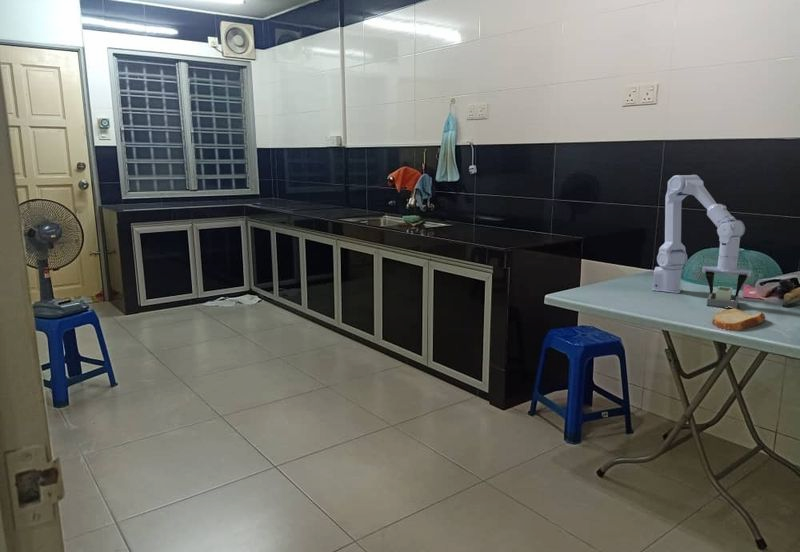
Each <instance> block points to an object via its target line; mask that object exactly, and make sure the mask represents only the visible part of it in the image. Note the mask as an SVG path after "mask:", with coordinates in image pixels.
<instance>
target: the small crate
mask: <svg viewBox="0 0 800 552" xmlns="http://www.w3.org/2000/svg"><path fill="white" fill-rule="evenodd" d="M715 293H716V298H715V299H717V300H726V301H731V296H732V295H733V287H729V286H717V288H716V290H715Z"/></svg>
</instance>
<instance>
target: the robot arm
mask: <svg viewBox="0 0 800 552" xmlns="http://www.w3.org/2000/svg"><path fill="white" fill-rule="evenodd" d="M665 193H666V194H665V199H664V200H665V203H664V205H665V206H664V207H665V208H664V215H665V216H664V218H665V219H664V243H663V244H662V245H661V246H660V247H659V249H658V254H657V256H656V262H657V264H658V266H655V267H654V270H653V278H652V288H651V290H652V291H656V292H657V291H658V292H664V293H674V294H680V293H681V291H682V287H681V281H682V280H681V278H682V269H683V268H684V265H686V264H687V262H688V254H687V252H686V246H685V245H684V244H683V242H682V203H683V202H682V201H683V200H684V199H685V198H686V197H688V196H689V195H691V196H694V197H695V199H696V200H698V202H699V203H700V204H702V206H703V207H704V208H705V209H706V210H707V211H706V216H707V217H708V218H709V219H710V220H711V222H712V223H713V224H714V225H715V227H716V228H717V229H716V233H717V235H718V237H719V240H718V241H719V251H718V260H717V266H706V265H704V266H702V273H705V274H704V275H705V277H706V280H707V283H708V287H709V295H710V294H712V293H714V292H713V291H714V279H715V274H722V275H733V276H738V277H737V283H736V290H735V294H734V295H735V296H736V297H738V295H739V293H740V291H741V288H742V286H743V285H744V283H745V281H746V280H747V278H748V277H749V278H750V277H751V276H752V270H751V269H744V268H743V269H742V268H738V266H737V265H738V258H739V251H740V244H741V243H740V241H741V237H743V235H744V234H745V231H746V227H745V224H744V222H743V221H742V220H739V219H736V218H735V216H733V215H731V213H730V212H729V211H728V210H727V208H728V207H727V206H726V205H725V204H722V203H717V202H716V201H715V199H714V198H713V196H712V195H711V193H710V192H709V191H708V190H707V189H706V187H705V186H704V180H702V179H701V177H700V176H699V175H697V174H689V175H688V174H687V175H686V174H685V175H682V174H681V175H680V174H677V175H673V176H672V177H671V178H670V179H669V180H668V181H667V190H666V192H665Z"/></svg>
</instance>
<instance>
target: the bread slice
mask: <svg viewBox="0 0 800 552" xmlns="http://www.w3.org/2000/svg"><path fill="white" fill-rule="evenodd" d="M765 319H766V316H765V314H764V313H763V312H762V311H760V313H749V312H746V311H744V310H742V309H739V308H737V309H736V308H732V309H729V308H727V309H724V310H721V311H718V312H717V313H715V314H714V317H713V319H712V322H711V324H712V325H713V326H714V327H716V328H718V329H720V328H721V330H723V329H725V330H724V331H728V330H729V331H728V332H738V330H739V331H744V330H748V329H750V328H753V327H755V326H758V325H760V324H762V323H763V322H764V321H765Z"/></svg>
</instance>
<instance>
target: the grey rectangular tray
mask: <svg viewBox="0 0 800 552" xmlns="http://www.w3.org/2000/svg"><path fill="white" fill-rule="evenodd" d="M735 295H736V294H732V296H731V300H734V301H726V300H717V299H715V298H716V292H713V293H712V294H710V293H709V296H708V297H707V302H706V306H707V307H712V308H713V307H714V308H720V309H721V308H722V309H726V308H725V307H728V306H731V307H733V308H736V309H738V305H739V299H740V295H739V294H738V297H736V296H735Z"/></svg>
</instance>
